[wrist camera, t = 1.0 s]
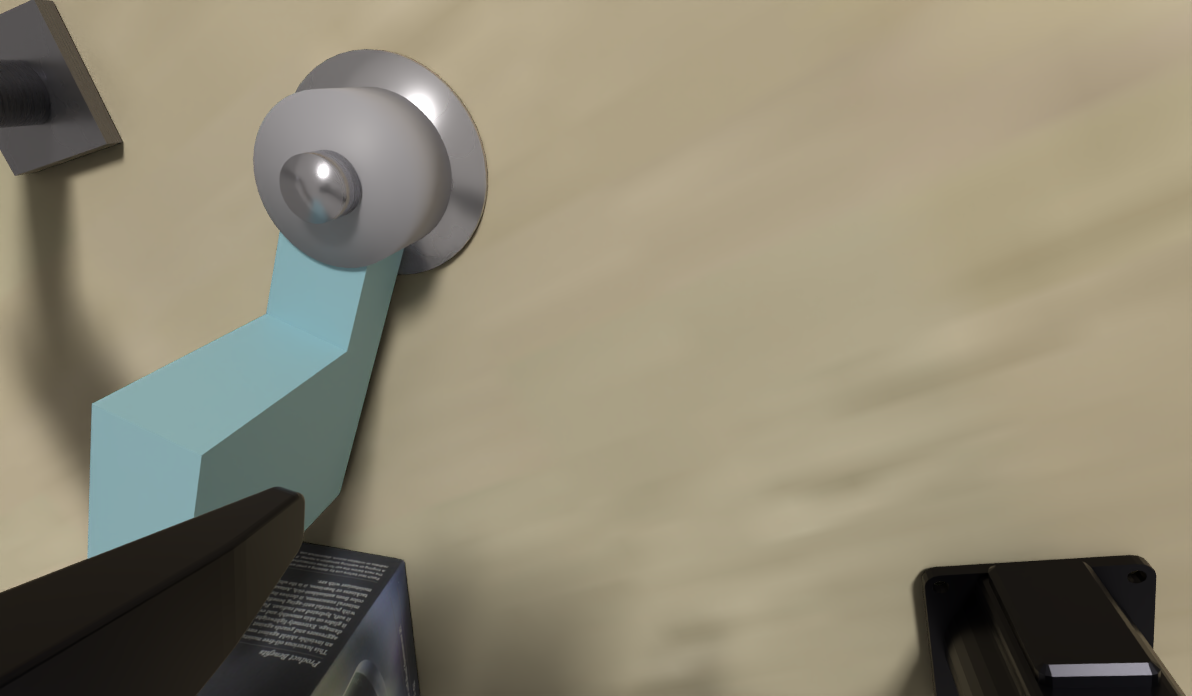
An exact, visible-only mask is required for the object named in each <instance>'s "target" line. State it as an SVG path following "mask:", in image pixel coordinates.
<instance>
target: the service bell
mask: <svg viewBox="0 0 1192 696" xmlns="http://www.w3.org/2000/svg"><path fill="white" fill-rule="evenodd" d="M348 87H378V88H382V89H387V90H390V91H392V92H395V93H397V94H399V95H401V96H403V97H405V98H407V99H408V100H409V101H411V102H412V103H414V104H415V105H416V106H417V107H418V108H419V109H421V110H422V111H423V112H424V113H425V115H426V116H427V117H428V118H429V119H430V120H431V122H432V123H433V124H434V126H435V127H436V129H437V130H438V132H439V134H440V136H441V138H442V140H443V142H444V145H445V147H446V149H447V153H448V156H449V160H450V165H451V172H452V187H451V195H450V200H449V203H448V206H447V209H446V212H445V213H444V215H443V217H442V219H441V221H440V222H439V223H438V225H437V226H436V227H435V228H434V229H433V230H432V231H431V232H430V233H429V234H428V235H426V236H425V237H424V238H422V239H420V240H418V241H416V242H415V243H413V244H411V245H409V246H407V247H405V248H404V250H403V254H402V258H401V262H400V266H399V270H398V273H397V275H401V274H414V273H420V272H424V271H427V270H430V269H433V268H435V267H437V266H439V265H441V264H443V263H444V262H446V261H447V260H449V259H450V258H452V257H453V256H455V255H456V254H457V253H458V252H459V251H460V250H461V249H462V248H463V247H464V246H465V245H466V243H467V242H468V241H469V240H470V238H471V237H472V235H473V234H474V232H475V230H476V228H477V227H478V224H479V222H480V219H481V217H482V214H483V211H484V207H485V203H486V197H487V188H488V170H487V163H486V156H485V152H484V148H483V144H482V140H481V137H480V135H479V132H478V129H477V127H476V125H475V123H474V121H473V119H472V117H471V115H470V113H469V111H468V110H467V108H466V107H465V105H464V104H463V102H462V101H461V99H460V98H459V97H458V95H457V94H456V93H455V92H454V91H453V90H452V88H451V87H450V86H449V85H448V84H447V83H446V82H445V81H443V80H442V79H441V78H440V77H439V76H438V75H437V74H435V73H434V72H433V71H431V70H430V69H428V68H427V67H426V66H424V65H422V64H420V63H418V62H417V61H415V60H413V59H411V58H408V57H406V56H403V55H400V54H397V53H393V52H388V51H384V50H369V49H364V50H353V51H349V52H345V53H341V54H338V55H336V56H334V57H332V58H329V59H327V60H326V61H324V62H323V63H321V64H320V65H318V66H317V67H316V68H315V69H313V70H312V71H311V72H310V73H309V74H308V75H307V76H306V77H305V79H304V80H303V81H302V83H301V84H300V85H299V87H298V88H297V90H296V92H300V91H304V90H311V89H327V88H348ZM296 92H295V93H296ZM279 184H280V190H281V194H282V196H283V199H284V201H285V203H286V204H287V206H288V207H289V208H290V210H291V211H292V212H293V213H294V214H295V215H297V216H298V217H299V218H301V219H302V220H304V221H307V222H310V223H314V224H322V223H326V222H329V221H331V220H334V219H337V218H340V217H342V216H345V215H347V214H349V213H351V212H352V211H353V210H354V209H355V208H356V206H357V205H358V203H359V200H360V196H361V184H360V180H359V177H358V174H357V172H356V170H355V168H354V167H353V166H352V164H351V163H350V162H349V161H348V160H347V159H346V158H345V157H344V156H342V155H341V154H339V153H337V152H335V151H331V150H317V151H312V152H307V153H302V154H297V155H294V156H292V157H290V158H289V159H288V160H287V161H286V162H285V163H284V165H283V167H282V169H281V172H280V178H279Z"/></svg>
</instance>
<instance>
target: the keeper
mask: <svg viewBox="0 0 1192 696" xmlns="http://www.w3.org/2000/svg"><path fill="white" fill-rule="evenodd" d="M121 142H122V140H121V138H120V136H119V134H118V132H117V130H116V128H115V126H114V124H113V122H112V120H111V118H110V116H109V114H108V112H107V110H106V108H105V106H104V104H103V102H102V100H101V98H100V96H99V94H98V92H97V90H96V88H95V86H94V84H93V82H92V80H91V78H90V76H89V74H88V72H87V69H86V67H85V65H84V63H83V61H82V59H81V57H80V55H79V53H78V51H77V49H76V47H75V45H74V43H73V41H72V39H71V37H70V35H69V33H68V31H67V29H66V27H65V25H64V23H63V21H62V19H61V17H60V15H59V13H58V11H57V9H56V7H55V5H54V3H53V1H49V0H30V1H28V2H26V3H24V4H22V5H19V6H17V7H15V8H13V9H11V10H8V11H6V12H4V13H2V14H0V150H1V152H2V154H3V155H4V157H5V159H6V161H7V163H8V164H9V166H10V168H11V170H12V171H13V173H14V175H15V176H17V175H24V174H31V173H34V172H37V171H40V170H43V169H46V168H49V167H52V166H55V165H58V164H60V163H63V162H66V161H69V160H72V159H75V158H78V157H81V156H84V155H87V154H89V153H92V152H95V151H98V150H101V149H104V148H107V147H110V146H113V145H116V144H119V143H121Z"/></svg>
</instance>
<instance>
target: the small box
mask: <svg viewBox="0 0 1192 696" xmlns="http://www.w3.org/2000/svg"><path fill="white" fill-rule="evenodd" d="M196 696H420V692H419V684H418V675H417V668H416V658H415V649H414V641H413V631H412V624H411V615H410V606H409V597H408V589H407V580H406V572H405V562H404V561H403V560H401V559H397V558H392V557H386V556H381V555H374V554H368V553H363V552H357V551H351V550H345V549H339V548H333V547H327V546H320V545H315V544H308V543H303V542H302V544H301V547H300V549H299V551H298V553H297V554H296V556H295V557H294V559H293V560H292V562H291V563H290V565H289V566H288V568H287V569H286V571H285V573H284V574H283V576H282V577H281V579H280V580H279V582H278V583H277V585H276V586H275V588H274V589H273V591H272V592H271V594H270V595H269V597H268V598H267V600H266V602H265V603H264V605H263V606H262V608H261V609H260V611H259V612H258V614H257V615H256V617H255V618H254V620H253V621H252V623H251V624H250V626H249V628H248V629H247V631H246V632H245V633H244V635H243V636H242V638H241V639H240V641H239V642H238V644H237V645H236V646H235V648H234V649H233V650H232V652H231V653H230V654H229V655H228V657H227V658H226V659H225V661H224V662H223V663H222V664H221V666H220V667H219V668H218V669H217V671H216V672H215V673H214V674H213V676H212V677H211V678H210V679H209V681H208V682H207V683H206V684H205V685H204V687H203V688H202V689H201V690H200V692H199V693H198V694H197V695H196Z"/></svg>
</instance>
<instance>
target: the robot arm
mask: <svg viewBox="0 0 1192 696" xmlns="http://www.w3.org/2000/svg"><path fill="white" fill-rule="evenodd" d="M304 521H305V498H304V496H303V495H302V494H301V493H299V492H296V491H293V490H290V489H287V488H284V487H279V486H276V487H272V488H269V489H266V490H264V491H261V492H259V493H256V494H253V495H251V496H248V497H246V498H243V499H241V500H238V501H235V502H233V503H230V504H228V505H225V506H222V507H220V508H217V509H215V510H212V511H210V512H207V513H204V514H202V515H199V516H197V517H194V518H192V519H189V520H186V521H184V522H181V523H179V524H176V525H173V526H171V527H168V528H166V529H163V530H161V531H158V532H155V533H153V534H150V535H148V536H145V537H143V538H140V539H137V540H135V541H132V542H130V543H127V544H124V545H122V546H119V547H117V548H114V549H112V550H109V551H106V552H104V553H101V554H99V555H96V556H94V557H91V558H88V559H86V560H83V561H81V562H78V563H75V564H73V565H70V566H68V567H65V568H63V569H60V570H57V571H55V572H52V573H50V574H47V575H45V576H42V577H39V578H37V579H34V580H32V581H29V582H26V583H24V584H21V585H19V586H16V587H14V588H11V589H8V590H6V591H3V592H1V593H0V696H196V695H197V694H198V693H199V692H200V690H201V689H202V688H203V687H204V685H205V684H206V683H207V682H208V681H209V679H210V678H211V677H212V676H213V674H214V673H215V672H216V671H217V669H218V668H219V667H220V666H221V664H222V663H223V662H224V661H225V659H226V658H227V657H228V655H229V654H230V653H231V652H232V650H233V649H234V648H235V646H236V645H237V644H238V642H239V641H240V639H241V638H242V636H243V635H244V633H245V632H246V631H247V629H248V628H249V626H250V624H251V623H252V621H253V620H254V618H255V617H256V615H257V614H258V612H259V611H260V609H261V608H262V606H263V605H264V603H265V602H266V600H267V598H268V597H269V595H270V594H271V592H272V591H273V589H274V588H275V586H276V585H277V583H278V582H279V580H280V579H281V577H282V576H283V574H284V573H285V571H286V569H287V568H288V566H289V565H290V563H291V562H292V560H293V559H294V557H295V556H296V554H297V553H298V551H299V549H300V547H301V544H302V542H303V538H304ZM1136 570H1138V571H1137V572H1136V573H1134V574H1130V575H1129V573H1131V572H1132V571H1136ZM939 581H942V582H944V583H943V584H940V585H936V584H935V583H936V582H939ZM922 588H923V597H924V606H925V615H926V623H927V632H928V641H929V650H930V659H931V668H932V677H933V686H934V695H935V696H1186V695H1185V694H1184V693H1183V691H1182V690H1181V688H1180V687H1179V685H1178V684H1177V683H1176V681H1175V680H1174V678H1173V677H1172V676H1171V674H1170V673H1169V671H1168V670H1167V669H1166V667H1165V666H1164V664H1163V663H1162V661H1161V660H1160V659H1159V657H1158V656H1157V654H1156V653H1155V652H1154V650H1153V642H1154V618H1155V594H1156V573H1155V571H1154V569H1153V568H1152V567H1151V566H1150V564H1149V563H1148V562H1147V561H1146V560H1145V559H1144V558H1142V557H1139V556H1134V555H1126V556H1110V557H1093V558H1077V559H1060V560H1044V561H1028V562H1011V563H995V564H979V565H962V566H946V567H934V568H930V569H928V570H927V571H925V572H924V574H923V575H922Z"/></svg>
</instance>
